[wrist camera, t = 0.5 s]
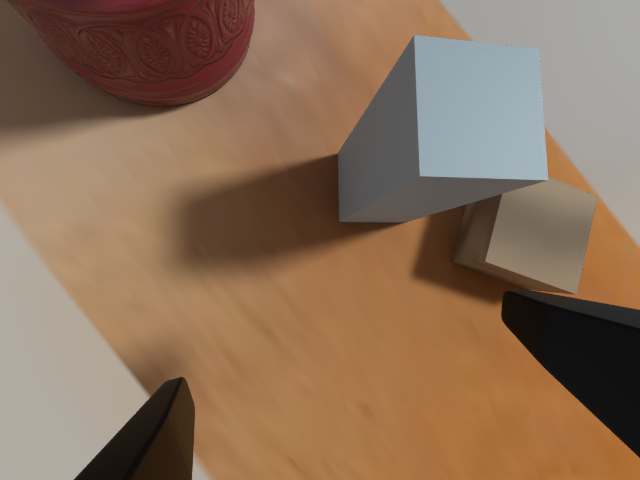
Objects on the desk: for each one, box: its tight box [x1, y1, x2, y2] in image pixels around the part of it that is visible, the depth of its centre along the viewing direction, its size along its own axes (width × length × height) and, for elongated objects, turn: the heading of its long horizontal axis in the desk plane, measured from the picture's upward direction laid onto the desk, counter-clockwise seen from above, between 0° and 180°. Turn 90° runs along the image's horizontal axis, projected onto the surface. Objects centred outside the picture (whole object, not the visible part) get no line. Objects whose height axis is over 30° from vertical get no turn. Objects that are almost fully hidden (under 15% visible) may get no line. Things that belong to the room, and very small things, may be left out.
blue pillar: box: [338, 35, 548, 222], centre depth 17 cm, size 5×5×12 cm
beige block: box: [451, 176, 597, 294], centre depth 23 cm, size 7×7×4 cm
